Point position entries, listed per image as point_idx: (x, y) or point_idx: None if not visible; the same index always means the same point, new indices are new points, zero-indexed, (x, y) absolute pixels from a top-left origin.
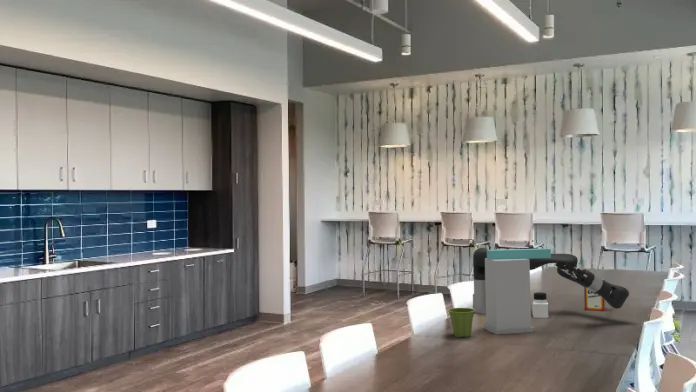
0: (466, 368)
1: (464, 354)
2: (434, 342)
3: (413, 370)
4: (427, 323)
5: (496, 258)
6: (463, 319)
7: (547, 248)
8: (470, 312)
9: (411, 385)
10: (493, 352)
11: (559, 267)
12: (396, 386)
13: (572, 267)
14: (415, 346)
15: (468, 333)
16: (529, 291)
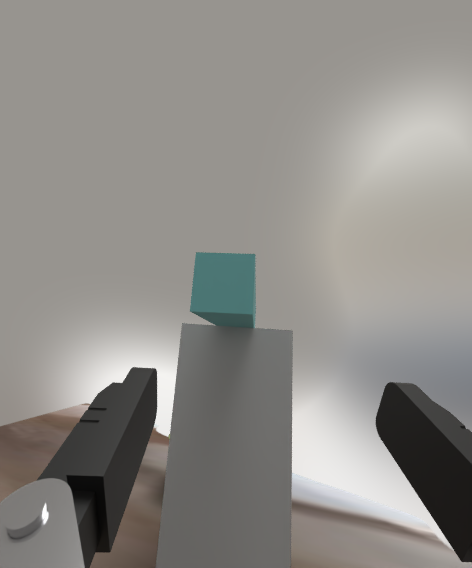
0: (3, 453)
1: None
2: (163, 462)
3: (58, 429)
4: (321, 485)
5: None
6: None
7: (248, 255)
8: (169, 439)
9: (17, 422)
10: None
11: (414, 483)
12: (29, 418)
13: (60, 451)
14: (154, 446)
15: None
16: (166, 473)
